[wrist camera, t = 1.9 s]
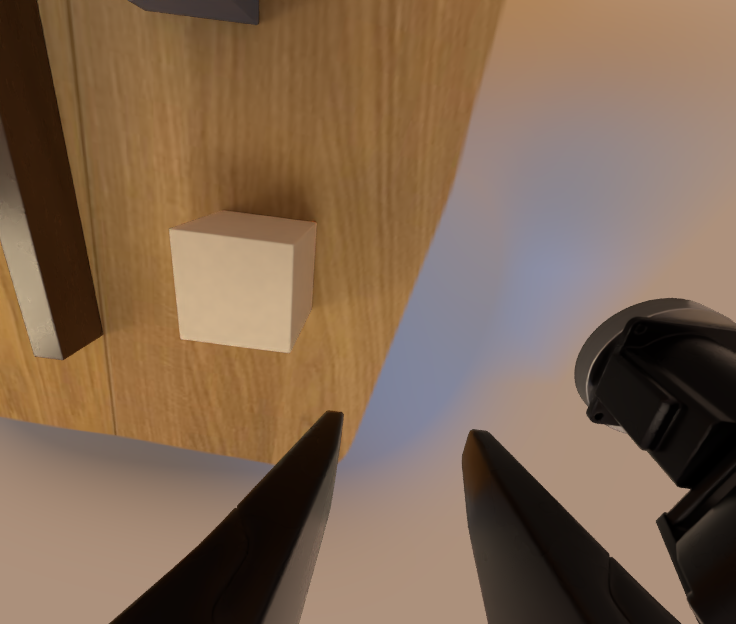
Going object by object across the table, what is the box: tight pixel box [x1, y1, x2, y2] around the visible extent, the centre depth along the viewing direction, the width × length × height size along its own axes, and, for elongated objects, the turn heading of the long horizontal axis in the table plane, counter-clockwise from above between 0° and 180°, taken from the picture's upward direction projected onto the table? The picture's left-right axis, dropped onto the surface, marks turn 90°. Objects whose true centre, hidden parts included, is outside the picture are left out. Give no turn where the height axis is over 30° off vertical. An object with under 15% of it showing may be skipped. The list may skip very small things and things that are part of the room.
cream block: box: [169, 210, 317, 353], centre depth 18 cm, size 5×5×5 cm
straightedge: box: [0, 0, 103, 360], centre depth 16 cm, size 2×26×3 cm, turn 173°
